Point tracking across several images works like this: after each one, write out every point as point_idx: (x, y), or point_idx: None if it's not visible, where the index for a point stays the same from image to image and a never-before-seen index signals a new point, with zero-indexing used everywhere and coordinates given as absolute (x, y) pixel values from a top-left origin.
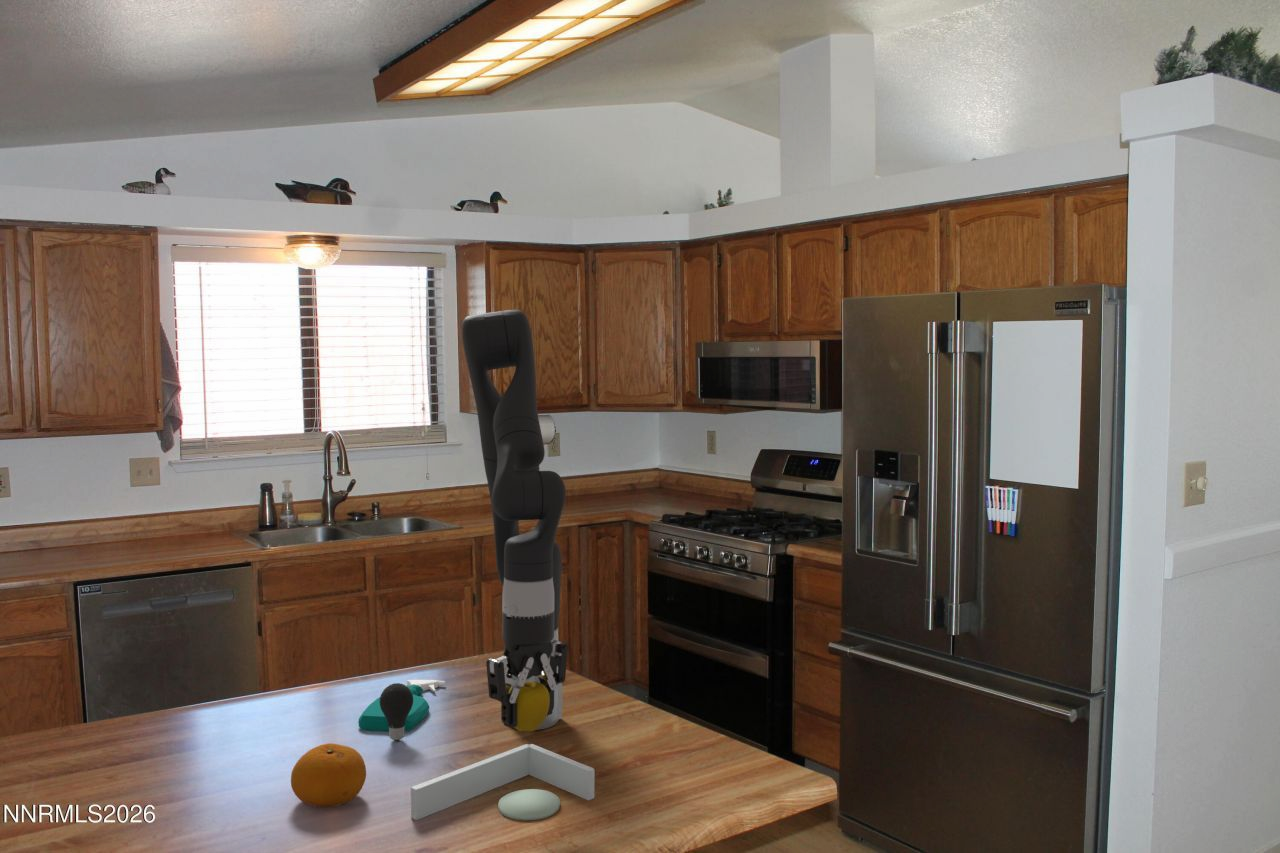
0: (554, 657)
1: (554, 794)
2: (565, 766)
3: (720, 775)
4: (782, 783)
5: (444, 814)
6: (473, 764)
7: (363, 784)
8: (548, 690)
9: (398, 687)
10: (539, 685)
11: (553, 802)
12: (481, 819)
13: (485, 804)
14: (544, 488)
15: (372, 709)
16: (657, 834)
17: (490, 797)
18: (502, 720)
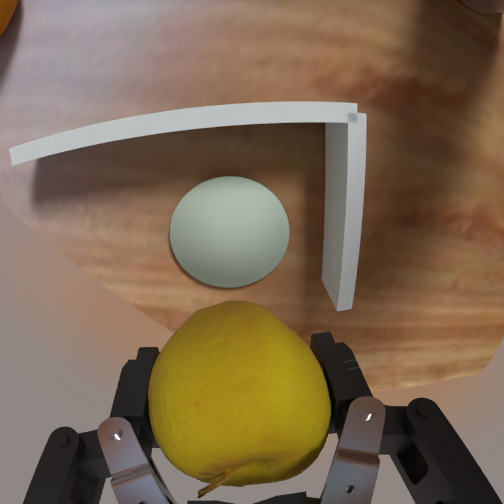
0: (441, 499)
1: (288, 240)
2: (339, 245)
3: (469, 319)
4: (470, 360)
5: (88, 160)
6: (166, 115)
7: (3, 27)
8: (337, 429)
9: None
10: (277, 481)
11: (263, 264)
12: (131, 219)
13: (168, 171)
14: None
15: None
16: None
17: (194, 150)
18: (125, 369)
